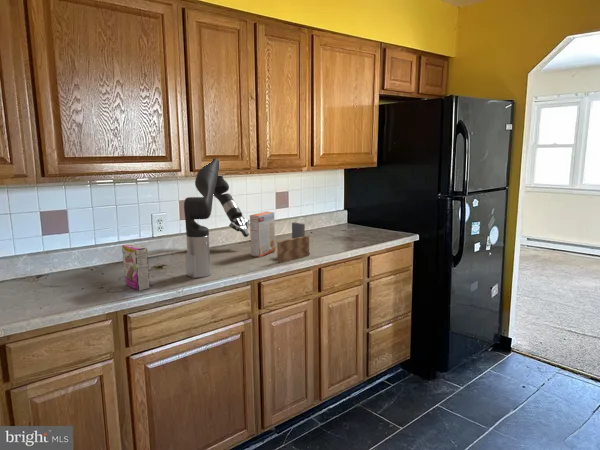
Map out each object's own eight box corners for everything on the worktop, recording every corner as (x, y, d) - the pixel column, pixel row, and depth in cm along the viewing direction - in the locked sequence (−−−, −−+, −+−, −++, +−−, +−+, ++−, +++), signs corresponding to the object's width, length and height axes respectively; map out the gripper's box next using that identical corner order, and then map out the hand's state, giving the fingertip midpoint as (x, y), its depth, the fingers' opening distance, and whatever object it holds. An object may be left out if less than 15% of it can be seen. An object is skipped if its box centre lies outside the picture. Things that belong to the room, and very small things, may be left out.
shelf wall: (279, 262, 202) (279, 242, 200) (277, 262, 203) (277, 241, 201) (309, 255, 215) (309, 235, 214) (307, 254, 217) (307, 235, 215)
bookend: (301, 256, 214) (301, 224, 211) (292, 253, 219) (291, 222, 216) (310, 253, 218) (310, 223, 216) (300, 251, 223) (300, 221, 220)
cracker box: (266, 250, 227) (265, 211, 223) (275, 251, 224) (275, 212, 220) (250, 255, 215) (249, 214, 211) (259, 257, 212) (259, 215, 208)
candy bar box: (124, 285, 169) (121, 245, 166) (136, 282, 173) (133, 242, 170) (138, 291, 162) (135, 249, 159) (150, 288, 165) (147, 247, 162)
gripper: (225, 207, 226) (239, 233, 220) (245, 205, 235) (259, 230, 229) (219, 216, 231) (233, 242, 224) (239, 213, 240) (253, 238, 234)
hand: (246, 236), depth 227 cm, fingers closed
